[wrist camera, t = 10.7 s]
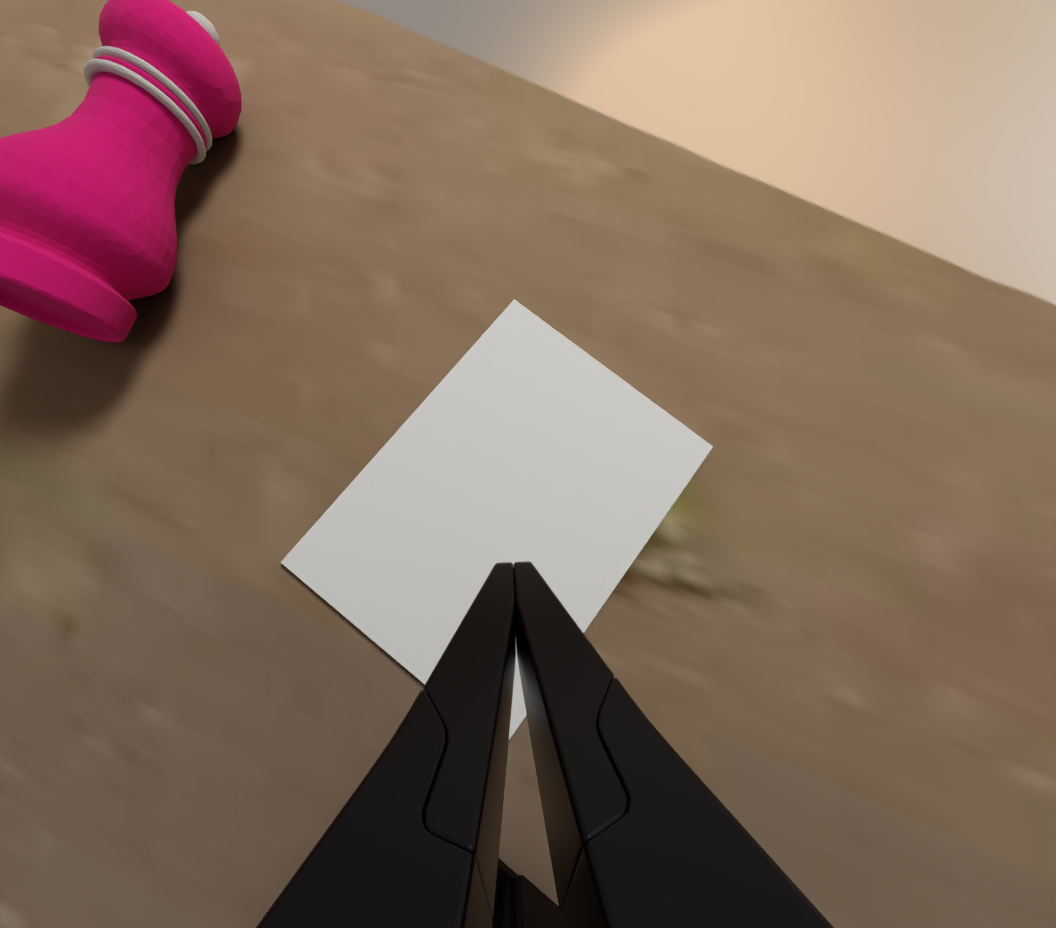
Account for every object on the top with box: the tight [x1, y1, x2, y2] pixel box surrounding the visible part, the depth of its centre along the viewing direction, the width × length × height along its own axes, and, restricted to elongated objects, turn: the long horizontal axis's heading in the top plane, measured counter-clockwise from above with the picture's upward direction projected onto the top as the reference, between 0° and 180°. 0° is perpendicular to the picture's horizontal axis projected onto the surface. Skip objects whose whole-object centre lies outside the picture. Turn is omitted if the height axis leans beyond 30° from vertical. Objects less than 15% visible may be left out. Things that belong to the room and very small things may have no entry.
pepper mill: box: [0, 0, 241, 343], centre depth 21 cm, size 7×7×20 cm
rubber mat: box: [281, 300, 713, 739], centre depth 22 cm, size 20×15×1 cm
